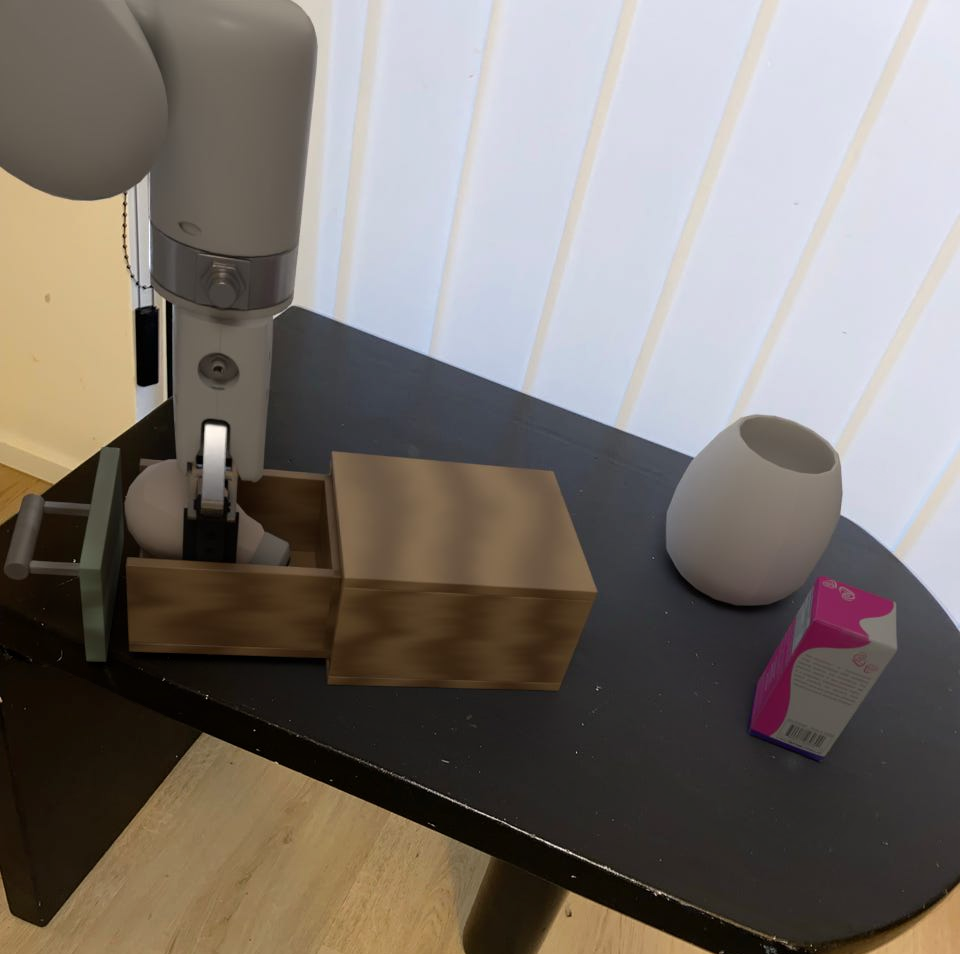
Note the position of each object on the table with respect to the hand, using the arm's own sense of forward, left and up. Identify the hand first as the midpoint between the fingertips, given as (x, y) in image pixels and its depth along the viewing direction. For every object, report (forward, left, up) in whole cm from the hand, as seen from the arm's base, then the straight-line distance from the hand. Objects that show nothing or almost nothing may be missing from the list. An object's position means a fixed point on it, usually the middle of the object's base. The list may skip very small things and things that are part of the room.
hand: (210, 525), depth 63 cm
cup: (+20, +39, -8) cm, 44 cm away
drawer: (-1, -1, -7) cm, 7 cm away
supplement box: (+33, +28, -8) cm, 44 cm away
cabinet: (+10, +13, -8) cm, 18 cm away
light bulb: (+1, 0, -3) cm, 3 cm away
